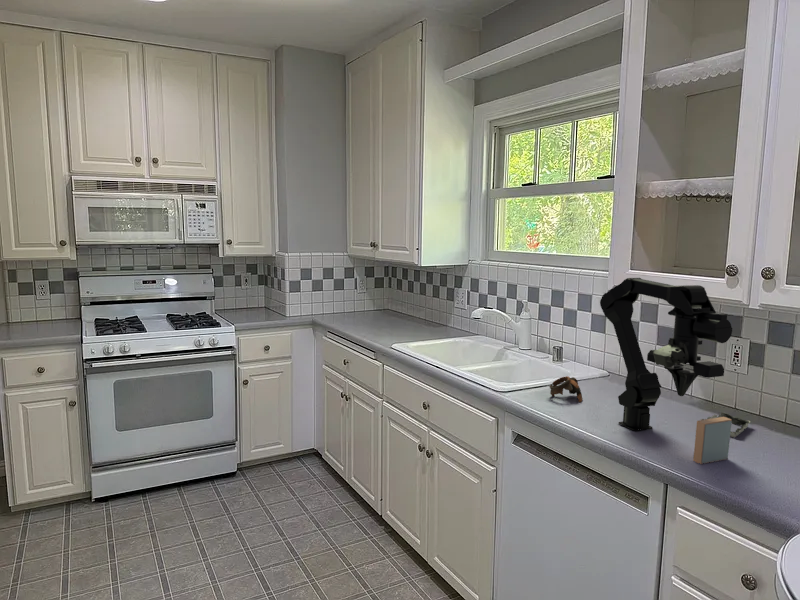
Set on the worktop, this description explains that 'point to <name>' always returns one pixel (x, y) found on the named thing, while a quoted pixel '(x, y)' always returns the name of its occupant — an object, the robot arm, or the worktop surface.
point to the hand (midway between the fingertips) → (680, 395)
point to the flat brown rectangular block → (712, 440)
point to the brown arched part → (566, 387)
